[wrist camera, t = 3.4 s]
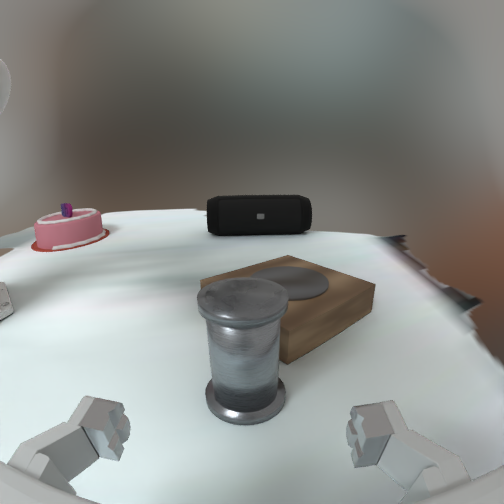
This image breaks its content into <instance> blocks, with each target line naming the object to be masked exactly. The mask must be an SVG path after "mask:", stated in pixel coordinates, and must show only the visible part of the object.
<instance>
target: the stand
mask: <svg viewBox="0 0 504 504" xmlns="http://www.w3.org/2000/svg"><path fill="white" fill-rule="evenodd" d="M239 277H250V278H260V279H265V280H269V281H273V282H275V283H277V284H280V285H281V286H283V287H284V288H285V289H286V290H287V292H288V295H289V300H288V310H287V312H286V313H285V315H283V316H282V317H281V323H280V347H279V360H281V361H282V362H284V363H286V364H289V363H291V362H293V361H294V360H296V359H298V358H299V357H301V356H303V355H305V354H306V353H308V352H310V351H311V350H313V349H314V348H316V347H318V346H319V345H321V344H323V343H324V342H326V341H327V340H329V339H331V338H332V337H334V336H335V335H337V334H338V333H340V332H342V331H343V330H345V329H346V328H348V327H349V326H351V325H352V324H354V323H355V322H357V321H358V320H360V319H361V318H363V317H364V316H366V315H367V314H368V313H370V312H371V310H372V304H373V297H374V291H375V284H373V283H370V282H367V281H365V280H362V279H359V278H356V277H353V276H350V275H347V274H344V273H341V272H338V271H335V270H332V269H329V268H326V267H323V266H320V265H317V264H314V263H311V262H308V261H305V260H302V259H299V258H295V257H292V256H289V255H287V256H283V257H280V258H276V259H273V260H269V261H266V262H262V263H259V264H255V265H252V266H248V267H245V268H241V269H238V270H234V271H231V272H227V273H224V274H220V275H217V276H213V277H210V278H206V279H202V280H200V282H201V289H202V288H204V287H205V286H207V285H209V284H211V283H213V282H216V281H219V280H224V279H229V278H239Z"/></svg>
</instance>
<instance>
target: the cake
mask: <svg viewBox="0 0 504 504" xmlns="http://www.w3.org/2000/svg"><path fill="white" fill-rule="evenodd" d="M61 209H62V211H61V212H57V213H53V214H50V215H46V216H44V217H41V218H40V219H38V221H37V222H36V223H35V224H34V228H35V235H36V241H35V242H34V243H33V244H32V246H31V248H32V249H33V250H34V251H39V252H53V251H62V250H68V249H73V248H78V247H82V246H86V245H89V244H92V243H95V242H98V241H100V240H102V239H104V238H106V237H107V236H108V235H109V231H108V230H107V229H103V228H102V220H101V213H100V211H97V210H95V209H92V208H90V209H87V208H85V209H74V210H72V206H71V204H67V203H64V204H61Z"/></svg>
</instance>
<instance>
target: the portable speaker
mask: <svg viewBox="0 0 504 504" xmlns="http://www.w3.org/2000/svg"><path fill="white" fill-rule="evenodd" d="M311 222H312V208H311V203H310V200H309V199H308V198H306V197H303V196H300V195H238V196H217V197H214V198H211V199H209V200H208V201H207V226H208V232H210V233H213V234H216V235H219V236H227V235H267V234H299V233H302V232H304V231H307V230H309V229H310V227H311Z"/></svg>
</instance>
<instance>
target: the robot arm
mask: <svg viewBox="0 0 504 504" xmlns="http://www.w3.org/2000/svg"><path fill="white" fill-rule="evenodd" d="M10 89H11V77H10V73H9V70H8V67H7V66H6V64H5V63H4V62H3V60H1V59H0V114H1V113H2V111H3V110H4V108H5V106H6V104H7V101H8V98H9V95H10ZM13 312H14V309H13V306H12V303H11V300H10V297H9V294H8V291H7V288H6V285H5V283H4V282H0V320H1V319H3V318H5V317H7V316H8V315H10V314H12V313H13ZM124 410H125V409H124V406H123V404H122V403H120V402H115V401H110V400H105V399H100V398H95V397H91V396H85V397H83V398H82V400H81V401H80V403H79V404H78V406H77V408H76V409H75V411H74V412H73V414H72V415H71V417H70V419H69V420H68V422H67V423H66V422H63V423H61V424H59V425H57V426H55V427H53V428H51V429H49V430H47V431H45V432H43V433H41V434H39V435H37V436H35V437H33V438H31V439H29V440H27V441H25V442H23V443H21V444H20V445H19V447H18V448H17V450H16V451H15V453H14V454H13V456H12V457H11V459H10V460H9V462H8V463H7V464H5V463H3V462H2V461H0V504H100V503H97V502H94V501H91V500H88V499H85V498H82V497H79V496H76V491H75V490H74V488H73V487H72V486H71V485H70V484H69V483H68V482H69V481H70V480H72V479H73V478H74V477H76V476H77V475H78V474H80V473H81V472H82V471H84V470H85V469H86V468H88V467H89V466H90V465H91V464H93V463H94V462H95V461H97V460H98V459H99V457H101V458H105V459H110V460H115V461H119V460H120V458H121V455H122V453H123V450H124V447H123V445H122V444H123V443H124V442H126V441H127V440H128V438H129V435H130V428H131V427H130V421H129V419H128V417H127V416H126V415H124V414H123V413H124ZM350 415H351V418H352V419H351V420H349V421H348V424H347V428H346V437H347V442H348V445H349V446H350V447H351V448H353V449H352V452H351V457H352V461H353V464H354V468H359V467H366V466H372V465H377V466H378V467H379V468H380V469H381V470H382V471H383V472H385V473H386V474H387V475H388V476H389V477H390V478H391V479H393V480H394V481H395V482H396V483H397V484H398V485H400V486H401V487H402V488H403V489H404V490H406V491H407V494H406V495H405V496H404V498H403V499H402V500H401V502H400V503H399V504H504V465H502V466H500V467H499V468H497V469H495V470H493V471H491V472H489V473H487V474H485V475H483V476H481V477H479V478H476V479H474V480H472V481H471V479H470V477H469V475H468V473H467V471H466V469H465V467H464V465H463V463H462V461H461V459H460V458H459V456H457V455H455V454H453V453H452V452H450V451H448V450H446V449H444V448H443V447H441V446H439V445H437V444H436V443H434V442H432V441H430V440H429V439H427V438H425V437H424V436H422V435H420V434H418V433H417V432H415V431H413V430H408V428H407V426H406V424H405V422H404V420H403V418H402V416H401V414H400V412H399V410H398V408H397V406H396V404H395V402H394V401H393V400H390V401H385V402H380V403H372V404H366V405H359V406H353V407H352V409H351V412H350Z"/></svg>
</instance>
